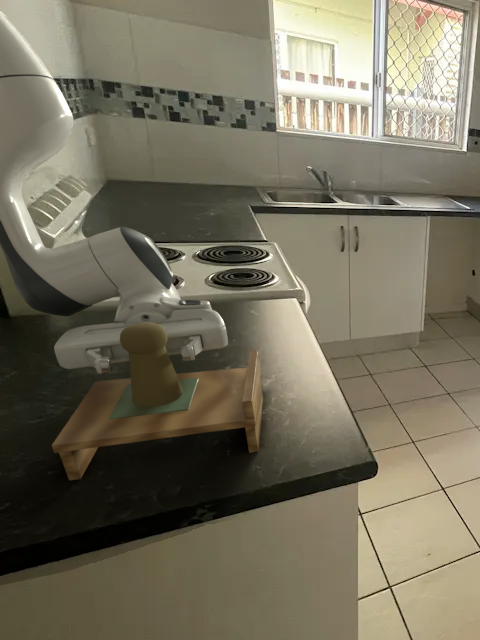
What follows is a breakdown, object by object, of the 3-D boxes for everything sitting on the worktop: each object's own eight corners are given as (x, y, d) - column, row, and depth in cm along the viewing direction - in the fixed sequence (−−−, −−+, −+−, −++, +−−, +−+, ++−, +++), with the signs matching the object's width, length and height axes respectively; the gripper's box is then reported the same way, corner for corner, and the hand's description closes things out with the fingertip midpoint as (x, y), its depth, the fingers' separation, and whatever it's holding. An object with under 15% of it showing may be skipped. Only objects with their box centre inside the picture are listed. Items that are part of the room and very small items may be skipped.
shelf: (65, 483, 60) (43, 424, 56) (105, 414, 73) (90, 363, 69) (259, 453, 68) (251, 400, 65) (264, 396, 82) (258, 350, 78)
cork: (136, 388, 69) (117, 319, 65) (185, 382, 72) (170, 315, 68) (128, 410, 65) (108, 337, 60) (181, 402, 67) (165, 332, 63)
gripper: (57, 314, 69) (37, 354, 58) (219, 299, 79) (227, 330, 69) (69, 353, 71) (52, 397, 61) (225, 333, 82) (233, 368, 72)
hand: (147, 362), depth 65 cm, fingers open, 8 cm apart
